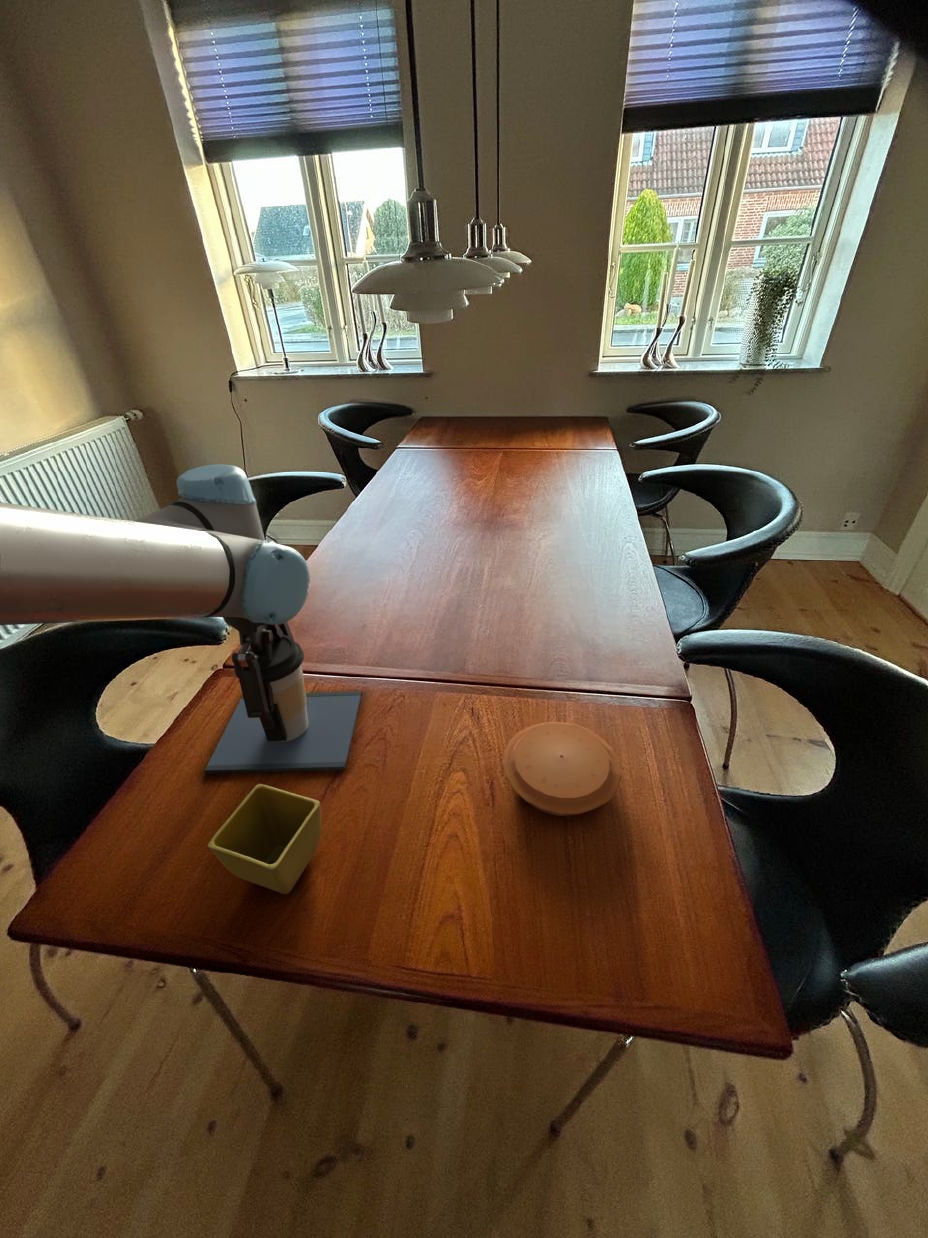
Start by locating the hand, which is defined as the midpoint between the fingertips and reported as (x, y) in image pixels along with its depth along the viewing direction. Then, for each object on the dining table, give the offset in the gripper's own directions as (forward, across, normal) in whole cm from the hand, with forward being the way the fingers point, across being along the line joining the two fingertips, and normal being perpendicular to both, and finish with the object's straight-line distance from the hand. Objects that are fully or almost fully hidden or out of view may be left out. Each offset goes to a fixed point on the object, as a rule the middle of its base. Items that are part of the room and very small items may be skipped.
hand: (285, 717), depth 81 cm
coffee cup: (+2, 0, 0) cm, 2 cm away
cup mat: (+3, 0, 0) cm, 3 cm away
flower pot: (+3, -23, -5) cm, 24 cm away
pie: (+3, -11, -40) cm, 42 cm away
